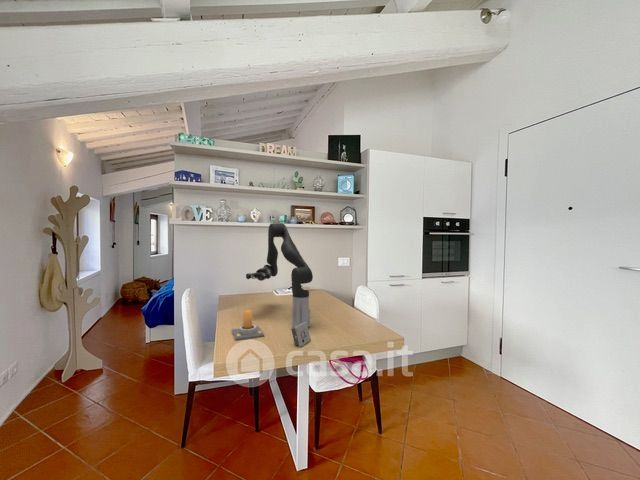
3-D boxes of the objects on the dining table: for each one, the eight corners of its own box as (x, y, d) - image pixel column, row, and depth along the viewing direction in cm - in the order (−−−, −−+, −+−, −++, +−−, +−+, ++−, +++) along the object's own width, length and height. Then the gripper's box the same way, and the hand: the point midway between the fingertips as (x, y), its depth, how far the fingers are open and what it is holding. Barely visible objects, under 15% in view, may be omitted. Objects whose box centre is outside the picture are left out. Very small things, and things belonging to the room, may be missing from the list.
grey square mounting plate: (258, 327, 150) (258, 321, 150) (264, 336, 137) (264, 329, 137) (231, 331, 144) (231, 324, 144) (235, 340, 131) (235, 333, 131)
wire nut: (251, 329, 143) (251, 309, 143) (253, 332, 140) (253, 311, 139) (242, 331, 142) (242, 310, 141) (244, 333, 138) (244, 312, 137)
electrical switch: (300, 347, 124) (299, 327, 124) (291, 346, 127) (290, 326, 127) (311, 341, 132) (309, 321, 133) (302, 340, 135) (300, 321, 135)
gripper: (252, 267, 176) (243, 271, 160) (274, 268, 175) (266, 271, 159) (252, 279, 177) (243, 283, 160) (273, 279, 175) (266, 284, 159)
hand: (254, 277), depth 160 cm, fingers open, 8 cm apart
